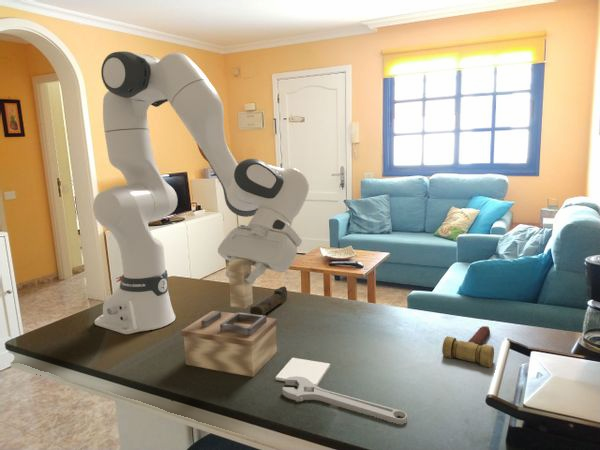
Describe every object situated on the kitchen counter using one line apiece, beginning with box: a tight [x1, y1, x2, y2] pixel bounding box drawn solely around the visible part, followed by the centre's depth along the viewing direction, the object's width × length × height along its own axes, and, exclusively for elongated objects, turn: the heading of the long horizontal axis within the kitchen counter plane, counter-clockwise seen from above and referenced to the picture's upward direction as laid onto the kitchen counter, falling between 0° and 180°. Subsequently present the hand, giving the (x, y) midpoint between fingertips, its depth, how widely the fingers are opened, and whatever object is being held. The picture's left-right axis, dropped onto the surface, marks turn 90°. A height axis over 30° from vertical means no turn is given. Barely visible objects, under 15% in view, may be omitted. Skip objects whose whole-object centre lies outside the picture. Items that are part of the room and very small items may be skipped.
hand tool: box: [249, 286, 288, 316], centre depth 133 cm, size 19×4×5 cm, turn 151°
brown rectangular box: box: [180, 310, 278, 377], centre depth 101 cm, size 18×13×10 cm
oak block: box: [227, 259, 254, 309], centre depth 98 cm, size 4×4×10 cm
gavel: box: [441, 325, 495, 368], centre depth 104 cm, size 21×5×10 cm
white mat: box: [275, 357, 331, 387], centre depth 94 cm, size 9×9×1 cm
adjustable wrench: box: [282, 376, 408, 425], centre depth 82 cm, size 25×6×2 cm, turn 55°
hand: (238, 280), depth 97 cm, fingers closed on oak block, 4 cm apart
